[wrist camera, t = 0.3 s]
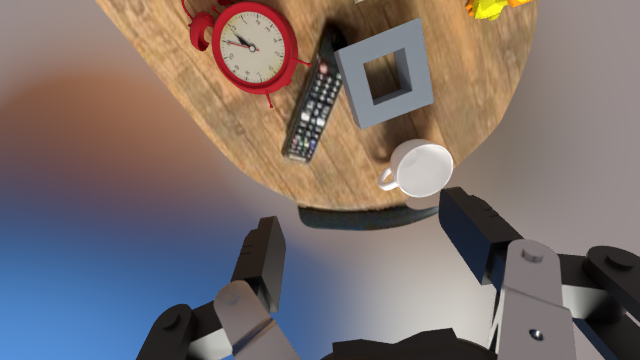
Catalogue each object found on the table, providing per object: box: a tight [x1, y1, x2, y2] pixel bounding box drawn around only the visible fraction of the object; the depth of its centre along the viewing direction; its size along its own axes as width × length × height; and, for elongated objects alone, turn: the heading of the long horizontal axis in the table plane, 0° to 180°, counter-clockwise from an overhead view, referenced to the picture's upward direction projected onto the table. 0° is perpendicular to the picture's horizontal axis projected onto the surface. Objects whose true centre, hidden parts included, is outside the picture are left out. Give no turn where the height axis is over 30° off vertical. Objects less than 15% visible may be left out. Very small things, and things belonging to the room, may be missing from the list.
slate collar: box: [334, 17, 434, 130], centre depth 32 cm, size 10×10×4 cm
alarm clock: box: [181, 0, 311, 108], centre depth 29 cm, size 10×6×15 cm
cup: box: [377, 139, 453, 197], centre depth 36 cm, size 8×10×7 cm
